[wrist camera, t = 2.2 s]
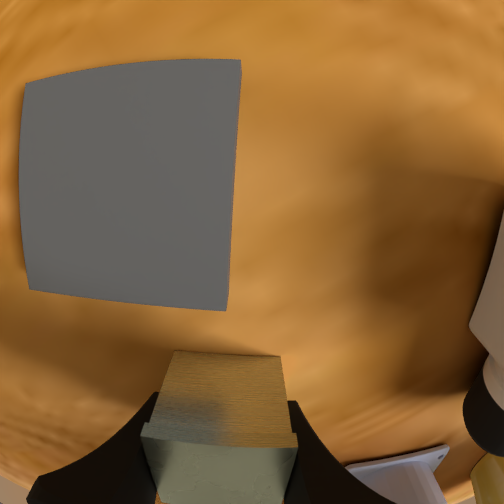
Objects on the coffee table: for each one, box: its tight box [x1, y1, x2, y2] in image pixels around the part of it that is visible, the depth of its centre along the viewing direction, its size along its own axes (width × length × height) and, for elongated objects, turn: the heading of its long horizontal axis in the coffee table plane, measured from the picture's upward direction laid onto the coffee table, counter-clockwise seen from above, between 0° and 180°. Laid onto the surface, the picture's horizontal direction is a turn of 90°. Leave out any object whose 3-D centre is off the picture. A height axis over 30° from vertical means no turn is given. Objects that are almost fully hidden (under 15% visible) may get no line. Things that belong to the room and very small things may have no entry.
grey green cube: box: [140, 350, 298, 504], centre depth 11 cm, size 5×5×5 cm
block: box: [19, 59, 242, 311], centre depth 10 cm, size 8×8×2 cm
